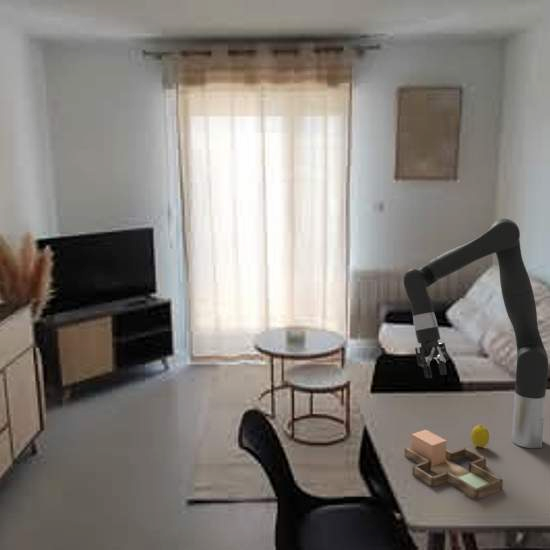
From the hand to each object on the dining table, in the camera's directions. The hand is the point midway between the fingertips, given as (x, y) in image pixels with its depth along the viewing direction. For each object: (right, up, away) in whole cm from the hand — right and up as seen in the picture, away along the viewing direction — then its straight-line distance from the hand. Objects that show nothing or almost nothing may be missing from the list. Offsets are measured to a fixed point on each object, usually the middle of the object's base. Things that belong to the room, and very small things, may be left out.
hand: (436, 376), depth 195 cm
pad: (+4, -28, -23) cm, 36 cm away
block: (-5, -25, -7) cm, 26 cm away
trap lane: (0, -26, -15) cm, 30 cm away
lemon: (+14, -24, -1) cm, 27 cm away
